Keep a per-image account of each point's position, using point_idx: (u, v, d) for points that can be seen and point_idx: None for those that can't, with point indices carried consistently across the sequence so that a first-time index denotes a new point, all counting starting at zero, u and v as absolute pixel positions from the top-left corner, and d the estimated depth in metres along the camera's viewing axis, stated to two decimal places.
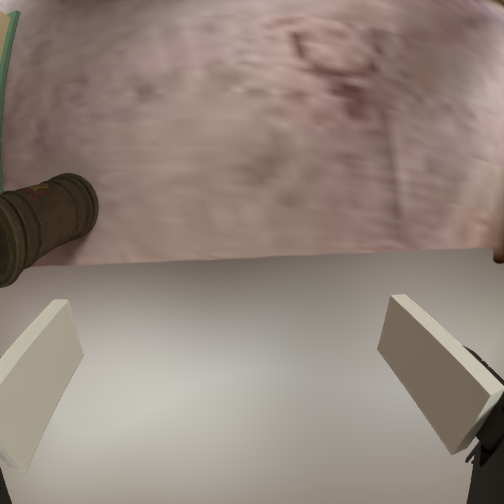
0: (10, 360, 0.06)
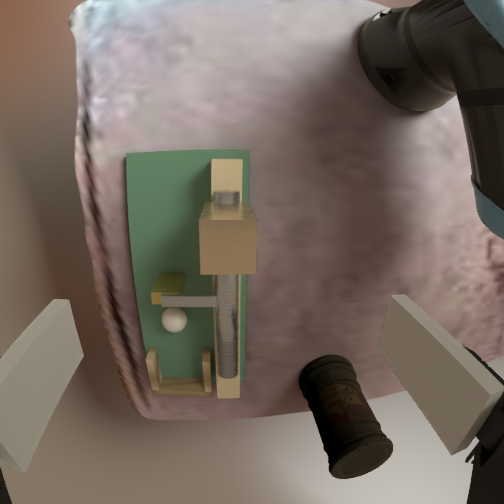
0: (10, 360, 0.06)
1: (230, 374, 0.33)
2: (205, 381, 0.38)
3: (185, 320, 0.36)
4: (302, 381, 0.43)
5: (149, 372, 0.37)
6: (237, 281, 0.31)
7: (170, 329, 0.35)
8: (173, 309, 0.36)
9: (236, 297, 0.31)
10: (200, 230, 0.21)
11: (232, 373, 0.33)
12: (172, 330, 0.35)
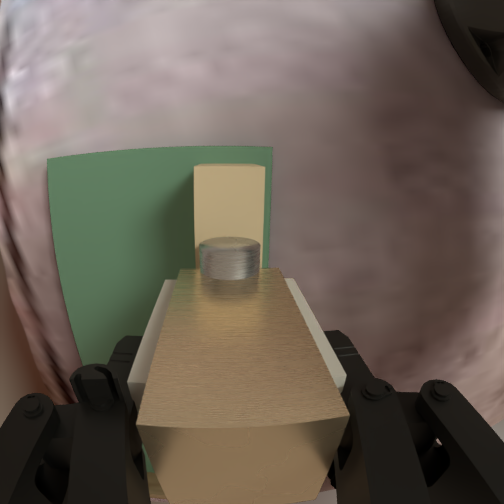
0: (158, 333, 0.09)
1: None
2: None
3: None
4: (332, 470, 0.27)
5: None
6: None
7: None
8: None
9: None
10: (148, 446, 0.05)
11: None
12: None
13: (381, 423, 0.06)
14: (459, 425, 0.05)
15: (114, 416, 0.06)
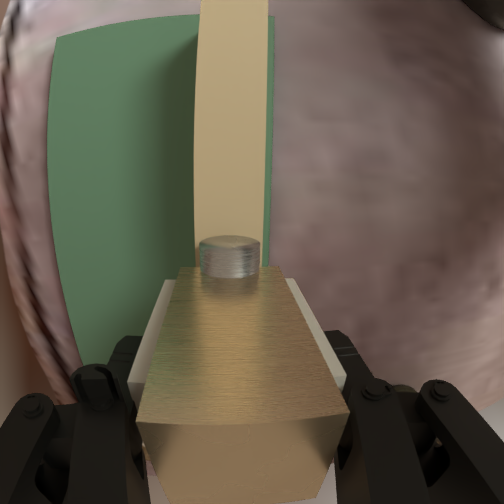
0: (158, 333, 0.09)
1: None
2: None
3: None
4: None
5: None
6: None
7: None
8: None
9: None
10: (148, 444, 0.05)
11: None
12: None
13: (381, 423, 0.06)
14: (459, 425, 0.05)
15: (114, 416, 0.06)
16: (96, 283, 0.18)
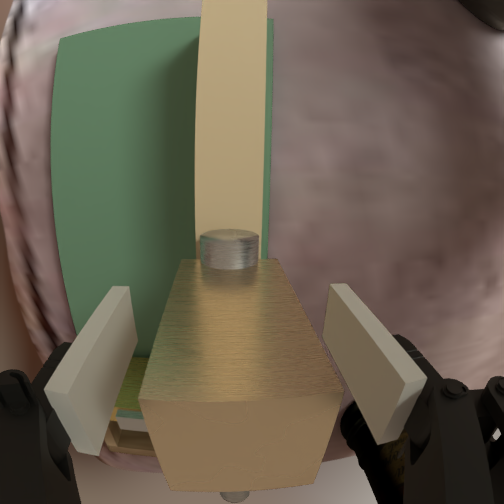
0: (86, 342, 0.08)
1: (238, 499, 0.18)
2: None
3: None
4: (347, 425, 0.25)
5: None
6: None
7: None
8: None
9: None
10: (149, 423, 0.05)
11: (240, 498, 0.18)
12: None
13: (457, 419, 0.05)
14: None
15: (30, 419, 0.05)
16: (98, 280, 0.18)
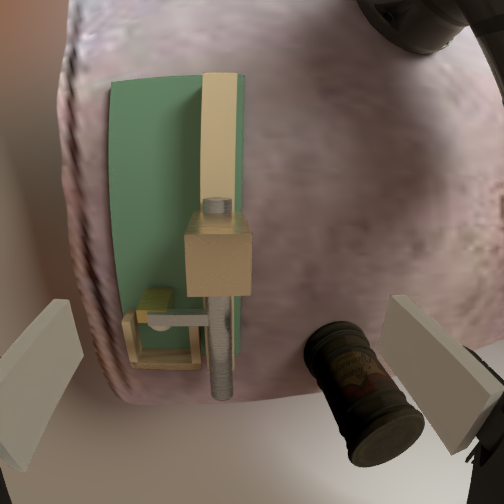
0: (10, 360, 0.06)
1: (224, 396, 0.30)
2: (192, 349, 0.32)
3: None
4: (308, 353, 0.38)
5: (126, 338, 0.31)
6: (230, 298, 0.27)
7: None
8: None
9: (229, 315, 0.28)
10: (186, 246, 0.18)
11: (226, 395, 0.30)
12: None
13: None
14: None
15: None
16: (136, 235, 0.31)
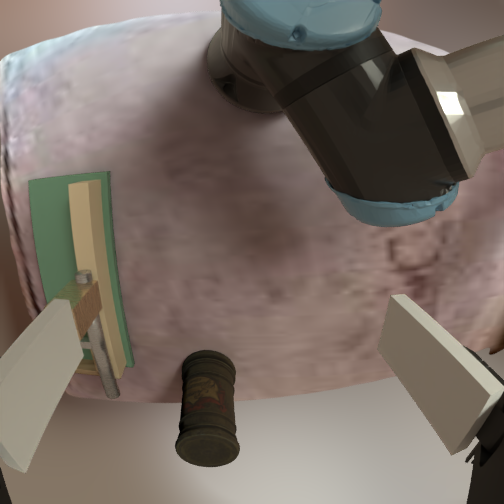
0: (10, 360, 0.06)
1: (112, 396, 0.40)
2: (95, 362, 0.42)
3: None
4: (183, 372, 0.48)
5: None
6: (100, 333, 0.37)
7: None
8: None
9: (101, 344, 0.38)
10: None
11: (113, 395, 0.40)
12: None
13: None
14: None
15: None
16: (56, 285, 0.41)
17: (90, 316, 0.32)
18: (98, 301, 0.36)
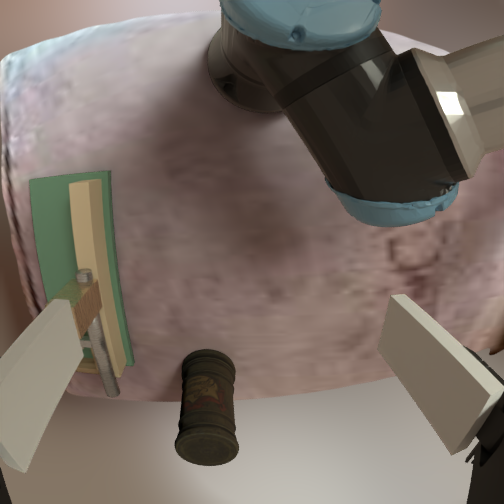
0: (10, 360, 0.06)
1: (112, 394, 0.40)
2: (95, 360, 0.43)
3: None
4: None
5: None
6: (100, 332, 0.38)
7: None
8: None
9: (102, 342, 0.38)
10: None
11: (113, 394, 0.40)
12: None
13: None
14: None
15: None
16: (56, 283, 0.41)
17: (90, 315, 0.33)
18: (99, 300, 0.36)
